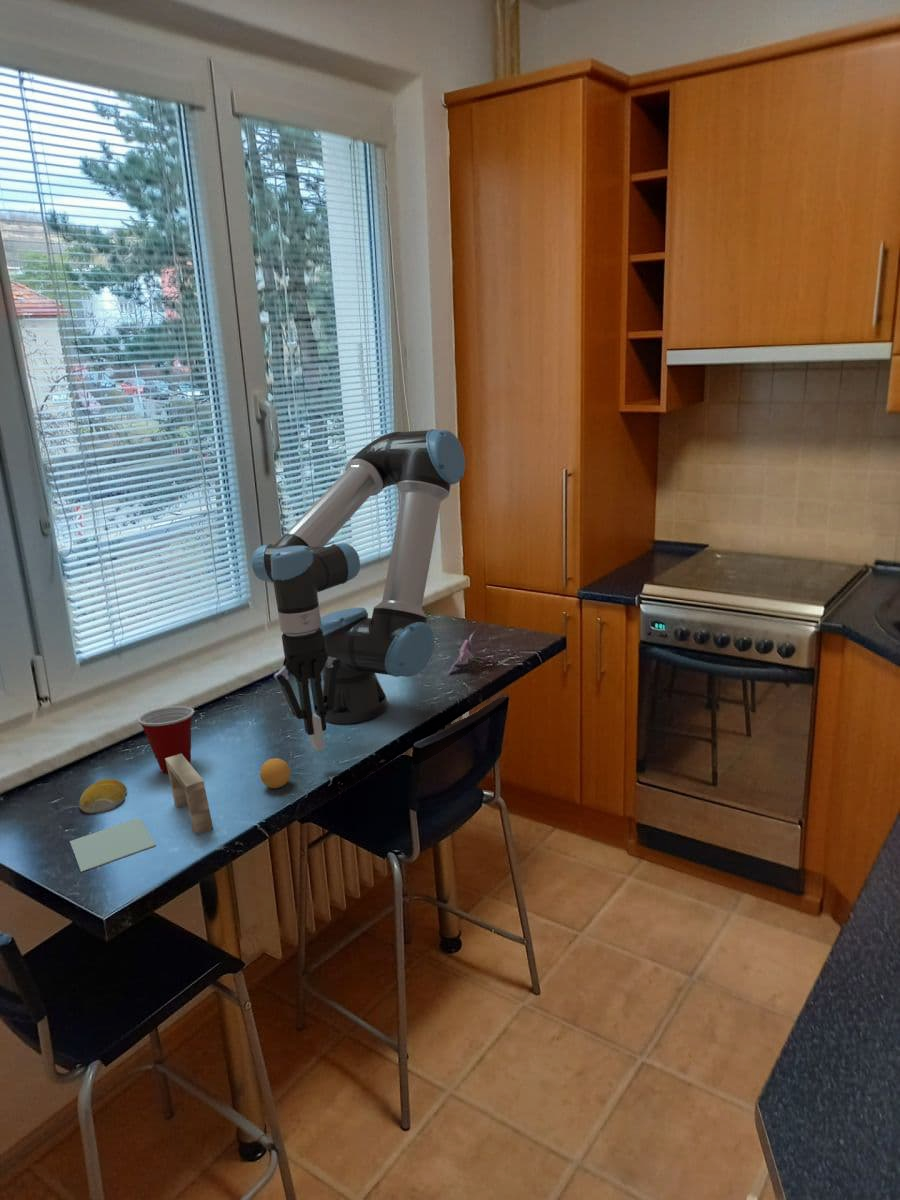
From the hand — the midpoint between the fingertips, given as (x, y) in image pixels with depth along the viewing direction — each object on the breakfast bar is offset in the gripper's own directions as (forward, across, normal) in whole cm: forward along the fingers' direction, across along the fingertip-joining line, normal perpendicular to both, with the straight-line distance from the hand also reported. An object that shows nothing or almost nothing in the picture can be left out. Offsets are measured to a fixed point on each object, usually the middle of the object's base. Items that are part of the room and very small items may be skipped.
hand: (318, 747), depth 165 cm
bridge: (+5, -25, 0) cm, 26 cm away
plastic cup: (+5, -22, +23) cm, 32 cm away
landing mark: (+6, -39, 0) cm, 39 cm away
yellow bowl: (+6, -37, +18) cm, 42 cm away
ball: (+2, -9, 0) cm, 9 cm away
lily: (+4, +51, +27) cm, 58 cm away
